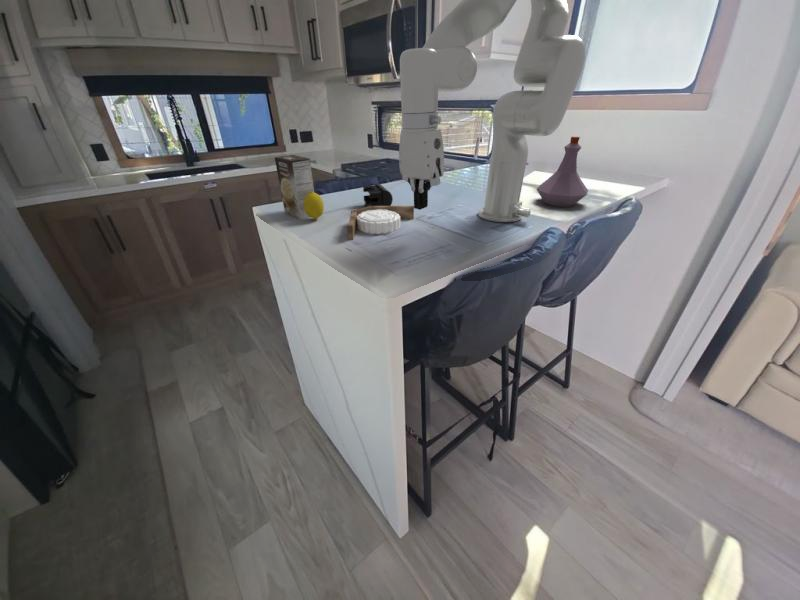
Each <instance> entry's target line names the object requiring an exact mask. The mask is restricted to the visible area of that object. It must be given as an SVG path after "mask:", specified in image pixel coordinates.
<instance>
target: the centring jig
mask: <svg viewBox="0 0 800 600" xmlns="http://www.w3.org/2000/svg"><path fill="white" fill-rule="evenodd" d="M378 209H382V210H389V211H392V212H396V213H397V214H399V216H400V220H414V217H415V216H414V215H415V214H414V213H415V208H414V205H391V206H368V207H366V206H365V207H361V208H357V209H354V210H351V211H350V212H351V215H350V217H349V220H348V223H347V236H348V237H347V238H348V240H354V238H355V235H356V231H357V229H358V228H357V220H356V217H357V216H358V214H361V213H362V212H365V211H367V210H378Z"/></svg>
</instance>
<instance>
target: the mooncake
mask: <svg viewBox="0 0 800 600" xmlns="http://www.w3.org/2000/svg"><path fill="white" fill-rule="evenodd" d="M356 220H357V228H356V229H357V230H358V231H360V232H363V233H365V234H372V235H373V234H376V235H380V234H388V233H393V232H397V231H398V230H399V229H400V227H401V219H400V216H399V214H397V213H396V212H392V211H389V210H382V209H378V210H367V211H365V212H362V213H361V214H358V216H357V217H356Z"/></svg>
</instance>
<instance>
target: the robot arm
mask: <svg viewBox="0 0 800 600" xmlns="http://www.w3.org/2000/svg"><path fill="white" fill-rule="evenodd" d="M517 1H518V0H461V1H460V2H459V3H458V4H457V5H456V6H455V7H454V8H453V9H452V10H451V11H450V12H449V13H448V14H447V15H446V16H445V17H444V18H443V19H442V20H441V21H440V22H439V23H438V24H437V26H436V27H435V28H434V30H433V31H432V32H431V34H430V35H429V37H428V38H427V40H426V41H425V43H424V45H423V47H417V48H409V49H406V50H404V51H402V52H401V54H400V57H399V78H400V98H401V99H400V100H401V102H400V104H401V125H402V126H401V129H400V135H399V147H398V149H399V151H398V152H399V153H398V154H399V155H398V158H399V159H398V161H399V162H398V165H399V172H400V174H401V178H402V179H401V180H403V181H405V182H407V183H408V184H409V186H410V189H411V191H412V192H413V206H414V210H420V211H421V210H423V209H425V208H428V206H429V204H428V202H429V194H428V193H429V191H430V190H431V188H432V187H436V186H439V185H441V177H442V176H444V175H445V149H444V148H445V147H444V140H443V135H442V129H441V128H439V127H438V126H439V125H438V124H441V123H442V118H441V116H438V115H439V110H438V109H439V92H445V93H447V92H449V93H450V92H460V91H463V90H465V89H467V88H468V87H469V86H470V85H471V84H472V83H473V81H474V80H475V77H476V75H477V71H478V62H477V61H478V60H477V57H476V56H475V54H474V53H473V51H471V49H469V48H468V46H469V45H471V44H473V43H474V42H477V41H478V40H479V39H482V38H484V37H486V36H488V35H489V34H490V33H492V32H493V31H495V30H496V29H497V28H499V27H500V26H501V25H502V24H503V23H504V21H506V18H507V17H508V15H509V14H510V11H511V10H512V9H513V7H514V6H515V4H516V2H517ZM530 4H531V7H530V9H531V12H530V19H529V22H528V25H527V29H526V31H525V34H524V37H523V41H522V43H521V46H520V48H519V52H518V54H517V58H516V61H515V65H514V69H513V79H514V81H515V83H516V84H517V85H518V86H522V87H524V88H544V89H543V90H532V89H531V90H530V89H529V90H527V89H526V90H513V91H509V92H506V93H504V94H503V95H501V96H500V97H499V98H498V99H497V101H496V102H495V104H494V108H493V110H492V146H491V157H490V162H489V163H490V164H489V170H488V177H487V185H486V192H485V193H486V194H485V200H484V206H483V207H481V208H480V209H479V210H478V212H477V213H478V214H477V215H478V216H479V218H480V219H483V220H486V221H489V222H490V221H491V222H495V223H515V222H517V221H520V220H521V219H522V217H524V218H529V217H531V209H530V208H527V207H524V206H522V205H523V202H522V201H520V198H521V195H522V194H521V193H522V188H523V183H524V176H525V173H526V166H527V163H528V162H527V161H528V156H529V147H528V145H529V144H528V142H527V141H528V140H527V138H526V136H534V137H547V136H550V135H552V134H553V133H555V132H556V131H557V129H558V128H559V126H560V125H561V123H562V121H563V120H564V116H565V114H566V112H567V110H568V108H569V104H570V102H571V99H572V97H573V95H574V92H575V91H576V90H575V89H576V88H577V86H578V85H577V84H578V83H579V80H580V77H581V74H582V72H583V69H584V66H585V60H586V59H585V58H586V46H585V43H584V41H583V40H582V38H581V37H579V36H577V35H571V34H568V35H567V34H566V35H564V33H565V31H566V27H567V25H568V22H569V21H568V20H569V13H570V12H569V6H568V3H567V0H530Z"/></svg>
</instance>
